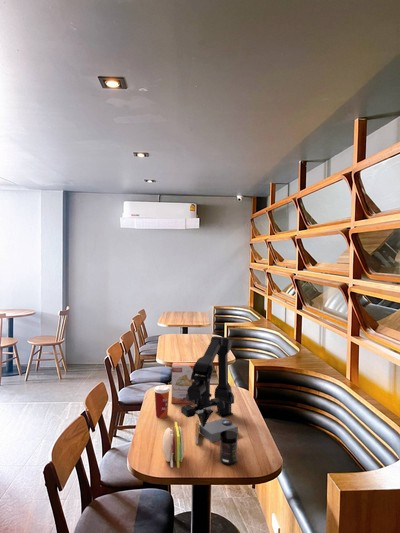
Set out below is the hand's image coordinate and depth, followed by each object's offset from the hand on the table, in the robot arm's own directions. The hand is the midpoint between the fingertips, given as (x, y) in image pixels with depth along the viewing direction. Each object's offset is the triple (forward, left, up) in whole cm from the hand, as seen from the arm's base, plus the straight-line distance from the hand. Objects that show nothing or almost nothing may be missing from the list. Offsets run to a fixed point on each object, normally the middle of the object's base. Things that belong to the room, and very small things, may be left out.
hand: (202, 426), depth 157 cm
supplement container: (0, +18, -6) cm, 19 cm away
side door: (+1, -3, -6) cm, 7 cm away
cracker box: (-13, -40, -6) cm, 43 cm away
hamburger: (+18, +6, -6) cm, 20 cm away
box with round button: (-9, -2, -6) cm, 11 cm away
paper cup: (+5, -31, -6) cm, 32 cm away
